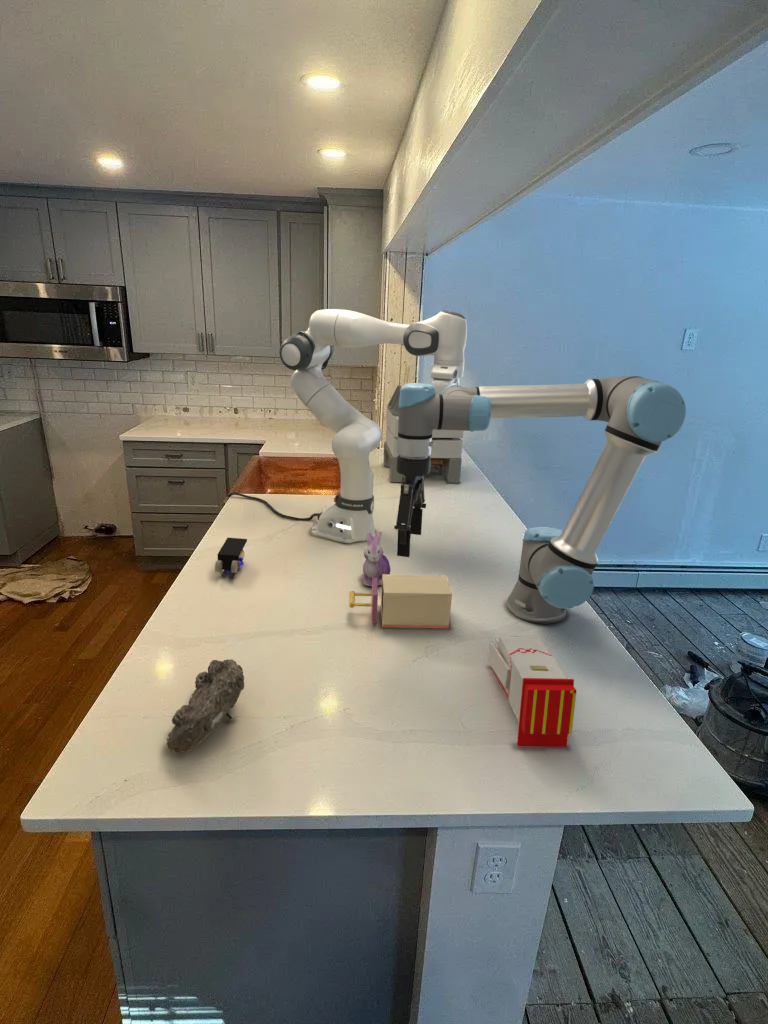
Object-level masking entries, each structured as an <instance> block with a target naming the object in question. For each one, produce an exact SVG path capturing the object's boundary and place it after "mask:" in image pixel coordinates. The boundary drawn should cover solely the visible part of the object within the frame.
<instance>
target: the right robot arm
mask: <svg viewBox="0 0 768 1024" xmlns="http://www.w3.org/2000/svg"><path fill="white" fill-rule="evenodd" d="M686 414H687V407H686V403H685V399H684V398H683V395H682V394H681V393H680V392H679V390H677V388H675V387H673V386H671V385H669V384H667V383H665V382H664V381H658V380H656V379H655V380H654V379H651V378H645V377H643V376H638V375H623V376H614V377H604V378H603V377H602V378H588V379H587V380H586V381H585V382H584V383H560V384H559V383H555V384H521V385H518V384H517V385H516V384H515V385H487V386H486V385H485V386H484V385H483V386H482V385H481V386H479V385H478V386H462V385H460V384H459V385H451V386H448V387H446V388H445V389H444V390H443V391H442V392H441V394H436V392H435V387H434V386H433V385H432V383H423V382H409V383H404V384H402V385H401V389H400V397H399V413H398V439H397V453H398V454H399V455H398V456H397V467H396V470H397V472H398V473H399V474H401V475H402V476H404V477H405V478H404V481H402V482H401V484H400V495H399V500H398V509H397V516H396V523H395V524H394V526H393V528H394V530H397V542H396V543H397V545H396V557H402V558H403V557H404V558H410V554H411V536H412V535H414V536H415V535H416V536H422V530H423V529H422V528H423V527H422V526H423V512H424V511H423V510H424V509H427V503H425V502H426V499H425V479H424V477H425V476H428V475H430V473H431V467H432V465H431V458H430V457H429V455H430V454H431V447H433V446H434V442H431V440H432V432H433V429H436V430H461V431H465V432H476V431H477V432H480V431H482V432H483V431H486V430H487V429H488V428H489V426H490V423H491V419H524V418H525V419H527V418H530V419H531V418H565V417H566V418H568V417H570V418H571V417H582V418H584V419H585V420H586V421H599V422H605V423H607V425H606V427H605V429H604V431H603V433H604V435H605V438H606V443H605V444H604V447H603V448H602V451H601V453H600V454H599V457H598V459H597V461H596V463H595V465H594V467H593V469H592V471H591V473H590V475H589V477H588V479H587V480H586V483H585V485H584V487H583V489H582V491H581V493H580V495H579V498H578V499H577V501H576V503H575V505H574V507H573V509H572V511H571V512H570V516H569V517H568V519H567V521H566V523H565V525H564V527H563V529H561V528H556V527H551V526H533V527H529V528H527V529H526V530H525V531H524V535H523V539H522V547H521V554H520V561H519V569H518V576H517V580H516V583H515V584H514V586H513V588H512V590H511V592H510V594H509V596H508V598H507V607H508V610H509V611H510V612H511V614H513V615H514V616H515V617H517V618H519V619H521V620H524V621H527V622H530V623H535V624H541V625H549V624H550V625H551V624H556V623H559V622H561V621H563V620H564V619H565V618H566V615H567V610H568V609H573V608H575V607H579V606H581V605H583V604H584V603H586V602H587V601H588V600H589V599H590V598H591V596H592V595H593V593H594V585H595V584H594V579H593V576H592V575H593V573H594V571H595V569H596V567H597V565H598V563H599V558H598V555H597V550H598V548H599V546H600V545H601V542H602V541H603V538H604V537H605V535H606V533H607V531H608V529H609V527H610V525H611V523H612V522H613V520H614V517H615V516H616V514H617V512H618V510H619V508H620V506H621V504H622V503H623V500H624V499H625V497H626V495H627V493H628V491H629V489H630V487H631V485H632V483H633V481H634V480H635V478H636V476H637V474H638V472H639V470H640V468H641V466H642V464H643V463H644V461H645V459H646V458H647V457H648V456H650V455H653V454H656V453H657V452H658V450H659V448H660V446H661V445H662V443H663V442H666V441H668V439H671V438H673V437H674V436H675V435H677V433H678V432H679V431H680V430H681V429H682V427H683V425H684V423H685V420H686V416H687V415H686Z"/></svg>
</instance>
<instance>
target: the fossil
mask: <svg viewBox="0 0 768 1024" xmlns="http://www.w3.org/2000/svg"><path fill="white" fill-rule="evenodd" d="M243 670H244V669H243V667H242V665H240V664H237V662H236V661H235V660H234V659H232V658H231V659H227V658H226V659H224V660H223V661H222V660H217V659H212V660H211V661H210V663H209V665H208V666H207V671H201V672H199V673H198V674H197V675H196V676H195V680H194V684H195V685H194V687H195V689H194V690H193V693H192V694H191V697H190V698H189V700H188V704H184V705H182V706H181V707H180V709H177V710H176V711H175V713H174V715H173V716H172V718H171V723H172V724H173V727H172V730H171V731H170V732H168V734H167V738H166V741H167V742H166V745H167V749H168V750H169V751H173V752H174V753H176V754H178V753H182V752H188V751H189V752H192V751H193V750H195V748H196V747H197V746H199V744H200V743H201V742H203V741H204V740H205V739H206V738H207V737H208V736H209V735H210V734H211V733H212V732H214V730H215V729H217V727H218V726H219V724H220V722H221V721H222V720H223V719H224V718H225V716H226V717H227V719H229V720H233V717H232V715H230V714H229V710H230V709H231V708H234V706H235V704H236V703H237V702H238V699H239V697H240V695H241V693H242V691H243V690H245V689H244V688H245V675H244V671H243Z"/></svg>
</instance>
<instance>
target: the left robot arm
mask: <svg viewBox="0 0 768 1024" xmlns="http://www.w3.org/2000/svg"><path fill="white" fill-rule="evenodd" d="M467 334H468V323H467V318H466V317H465V316H464V315H463V314H461V313H459V312H456V311H451V310H445V309H443V310H440V311H439V312H438V313H437V314H436V315H435V314H434V315H433V316H432V317H429V318H426V319H424V320H420V321H417V322H414V323H412V324H408V323H398V322H391V321H387V320H383V319H380V318H378V317H377V318H376V317H374V316H371V315H368V314H365V313H362V312H360V311H359V312H358V311H355V310H350V309H342V308H324V309H318V310H315V311H314V312H313V313H312V314H311V316H310V318H309V321H308V328H307V330H305V331H304V330H300V331H298V332H296V333H294V334H292V335H290V336H288V337H287V338H286V339H284V341H282V343H281V344H280V347H279V350H278V351H279V358H280V361H281V363H282V364H283V366H285V368H287V369H289V370H290V371H291V370H292V371H294V372H293V373H292V374H291V375H290V379H289V380H290V381H289V383H290V387H291V388H292V390H293V391H294V393H295V395H296V396H297V397H298V399H299V400H300V401H301V403H302V404H303V405H304V406H305V407H306V409H307V410H308V411H309V412H310V413H311V415H313V416H314V417H315V419H316V420H317V421H318V422H319V423H320V424H321V425H322V426H324V427H326V428H328V429H330V430H331V431H334V432H335V434H334V437H333V438H332V440H331V450H332V452H333V454H334V456H335V457H336V458H337V462H338V467H339V473H340V488H339V489H340V490H339V491H338V492H337V494H336V495H335V496H334V497H333V502H334V504H333V505H331V506H329V507H328V508H326V509H325V510H323V511H322V512H319V513H317V512H315V513H313V514H311V515H310V516H309V517H294V516H291V515H286V514H283V513H281V512H279V511H277V510H276V509H275V508H274V507H273V506H272V505H271V504H270V503H269V502H268V501H266V500H265V499H263V498H260V497H255V496H252V495H246V494H243V493H240V492H231V493H229V494H228V495H227V496H226V497H227V498H230V497H232V496H239V497H242V498H246V499H250V500H256V501H258V502H261V503H264V504H265V505H266V506H267V507H268V508H269V509H270V510H271V511H272V512H273V513H274V514H275V515H277V516H280V517H282V518H284V519H290V520H294V521H311V520H313V519H314V517H317V518H316V519H317V523H315V524H314V525H313V526H312V528H311V530H310V533H311V536H315V537H319V538H323V539H326V540H330V541H336V542H339V543H343V544H352V543H357V542H365V541H367V538H366V534H367V532H370V533H371V535H372V537H373V538H374V537H375V536H376V534H377V532H376V528H375V523H374V513H373V512H374V509H375V496H374V472H373V471H372V468H371V465H370V464H371V463H370V453H371V452H372V451H374V450H376V449H377V448H378V446H379V445H380V443H381V441H382V439H383V431H382V428H381V426H380V425H379V424H378V423H377V422H376V421H374V420H371V419H370V418H368V417H366V415H364V414H363V413H362V412H360V411H359V410H358V409H357V408H355V407H354V406H352V404H350V403H349V402H348V401H347V400H346V399H345V398H344V396H342V395H341V394H340V393H339V392H338V390H336V389H335V387H334V385H332V384H331V382H329V380H327V379H326V377H325V376H324V374H323V372H322V370H325V369H327V366H328V365H329V364H328V363H329V361H330V360H331V358H332V356H333V354H334V351H335V347H339V348H347V349H357V348H365V347H371V346H377V345H383V344H389V345H399V346H404V349H405V350H406V351H407V353H409V354H410V355H412V356H415V357H427V356H433V366H432V369H431V371H430V378H431V379H432V381H431V385H433V386H434V387H435V392H436V394H441V392H442V391H443V390H444V389H445V388H446V387H448V386H451V385H459V386H460V378H463V377H464V371H465V360H466V359H465V349H466V346H467V339H468V338H467V337H468V335H467Z"/></svg>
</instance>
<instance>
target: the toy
mask: <svg viewBox="0 0 768 1024" xmlns="http://www.w3.org/2000/svg"><path fill="white" fill-rule="evenodd" d="M488 643H489V644H488V651H487V658H486V659H487V662H488V664H489V666H490V668H491V669H492V672H493V674H494V675H495V677H496V679H497V681H498V682H499V684H500V687H501V688H502V691H503V692H504V694H505V697H507V699H508V702H509V705H510V706H511V709H512V710H513V713H514V714H515V717H516V720H517V721H518V728H517V729H518V730H517V741H516V746H517V747H520V748H521V747H522V748H523V747H525V748H527V747H529V748H531V747H532V748H533V747H534V748H545V747H546V748H567V747H568V740H569V735H572V733H573V725H574V716H575V708H576V700H577V689H576V687H575V686H574V685H575V679H574V678H569V677H568V676H567V675H566V673H565V672H564V670H563V669H562V668H561V667H560V665H559V663H558V662H557V661H556V659H555V658H554V656H553V654H552V653H551V652H550V650H549V649H548V648H547V646H546V644H545V642H544V641H543V640H542V639H541V638H540V636H534V635H533V636H532V635H530V636H527V635H526V636H525V635H524V636H523V635H498V637H497V636H496V637H494V643H493V641H489V642H488Z"/></svg>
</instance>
